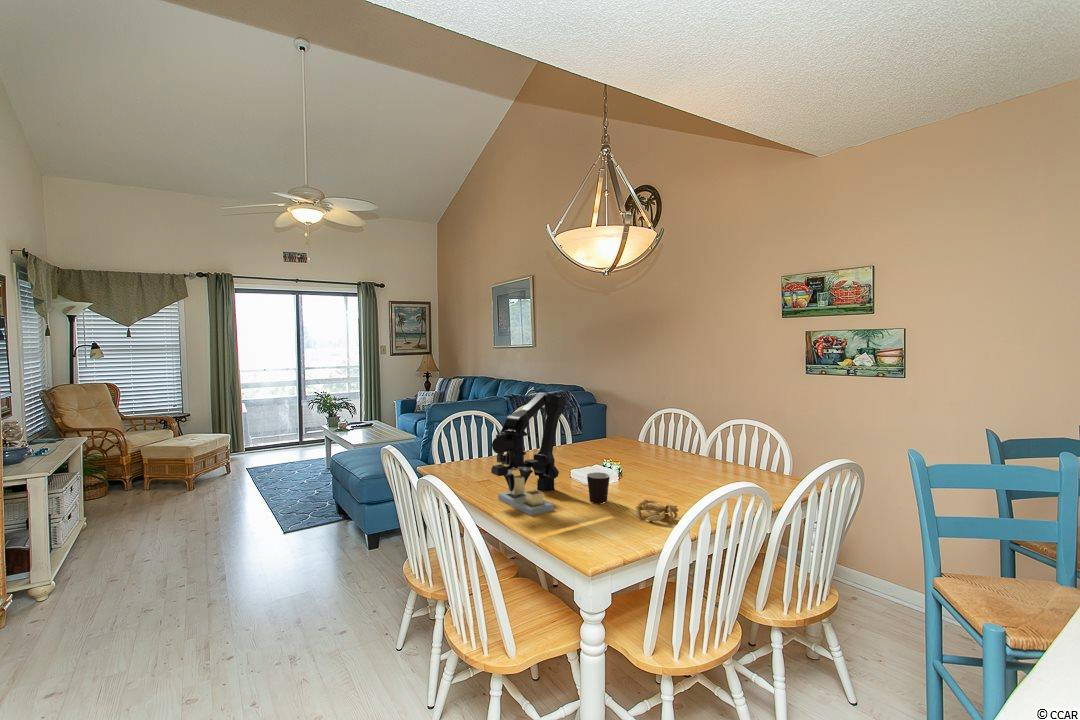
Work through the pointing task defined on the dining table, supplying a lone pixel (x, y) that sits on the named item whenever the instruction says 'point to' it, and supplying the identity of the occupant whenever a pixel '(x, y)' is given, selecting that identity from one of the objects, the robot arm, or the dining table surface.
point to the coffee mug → (598, 486)
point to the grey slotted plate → (524, 503)
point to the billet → (518, 485)
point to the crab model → (657, 508)
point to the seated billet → (534, 498)
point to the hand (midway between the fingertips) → (516, 489)
